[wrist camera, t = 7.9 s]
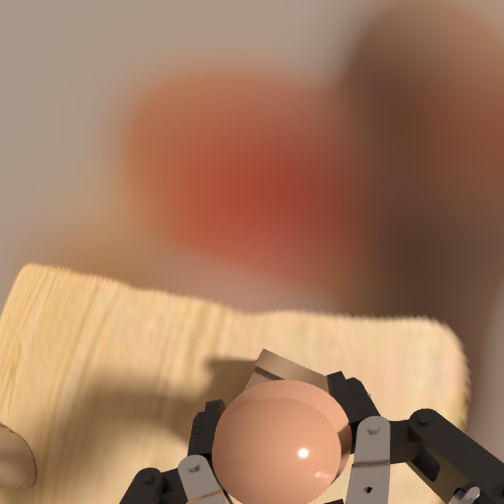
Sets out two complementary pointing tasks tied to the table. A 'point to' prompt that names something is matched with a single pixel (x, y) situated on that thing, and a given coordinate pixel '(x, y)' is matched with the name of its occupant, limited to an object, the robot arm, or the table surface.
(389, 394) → the table surface
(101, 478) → the table surface
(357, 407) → the robot arm
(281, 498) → the peg doll
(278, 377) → the pedestal
